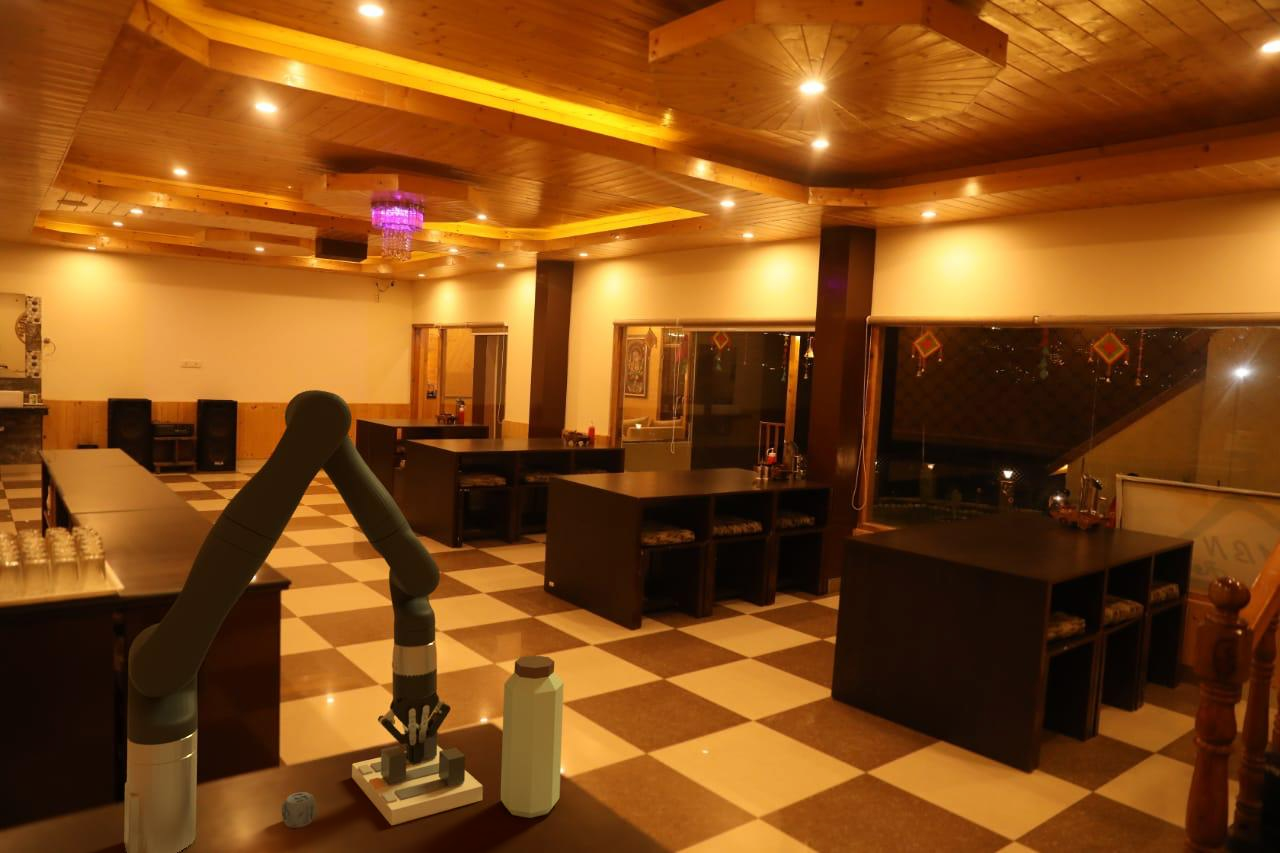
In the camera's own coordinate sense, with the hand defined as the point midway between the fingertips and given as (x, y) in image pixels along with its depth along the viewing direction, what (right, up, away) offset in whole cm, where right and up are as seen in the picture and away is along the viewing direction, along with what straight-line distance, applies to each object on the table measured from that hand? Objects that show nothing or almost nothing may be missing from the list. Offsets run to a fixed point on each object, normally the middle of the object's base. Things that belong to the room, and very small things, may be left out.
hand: (415, 762), depth 149 cm
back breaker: (0, -1, +7) cm, 8 cm away
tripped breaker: (-3, -2, -2) cm, 4 cm away
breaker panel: (0, -5, 0) cm, 5 cm away
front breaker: (+7, -2, -2) cm, 8 cm away
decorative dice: (-16, -5, -12) cm, 20 cm away
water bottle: (+21, -6, -4) cm, 22 cm away
